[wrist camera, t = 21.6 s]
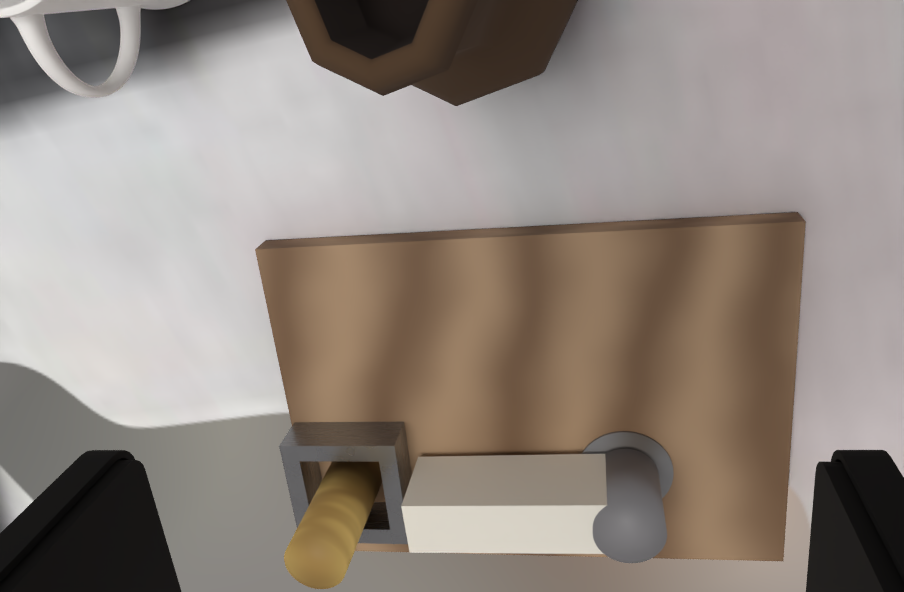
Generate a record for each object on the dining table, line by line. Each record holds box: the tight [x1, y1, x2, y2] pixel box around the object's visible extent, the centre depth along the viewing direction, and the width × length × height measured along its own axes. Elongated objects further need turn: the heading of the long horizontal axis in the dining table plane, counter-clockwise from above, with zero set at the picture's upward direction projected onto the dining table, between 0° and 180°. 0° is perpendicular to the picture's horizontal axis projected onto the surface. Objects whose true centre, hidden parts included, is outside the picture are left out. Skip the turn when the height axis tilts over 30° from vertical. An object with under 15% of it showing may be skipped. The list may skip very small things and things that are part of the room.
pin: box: [284, 461, 382, 589], centre depth 43 cm, size 3×3×8 cm
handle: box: [401, 449, 667, 563], centre depth 42 cm, size 13×4×5 cm, turn 97°
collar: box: [279, 421, 412, 544], centre depth 45 cm, size 7×7×2 cm
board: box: [255, 212, 806, 561], centre depth 43 cm, size 28×20×4 cm
